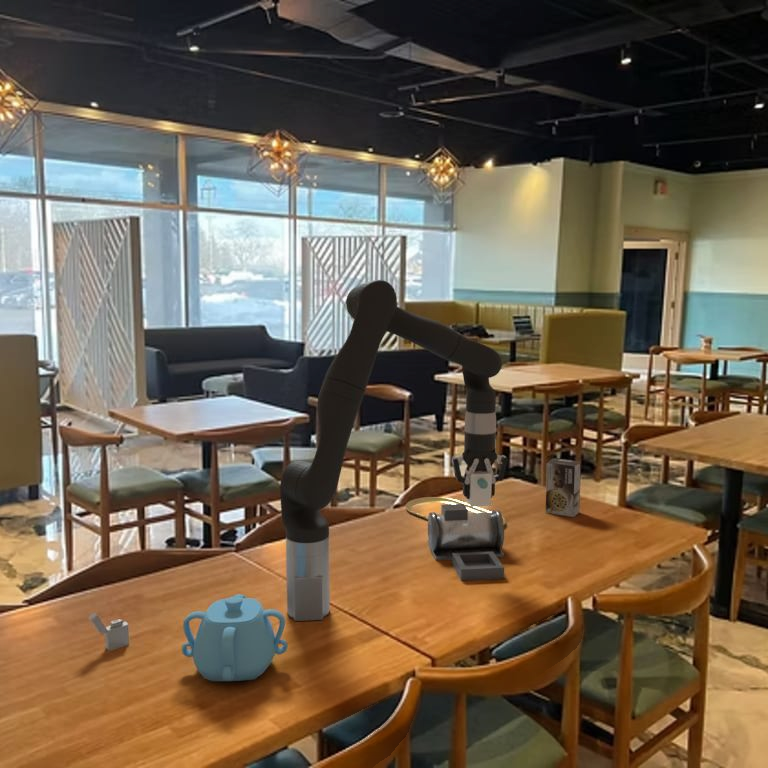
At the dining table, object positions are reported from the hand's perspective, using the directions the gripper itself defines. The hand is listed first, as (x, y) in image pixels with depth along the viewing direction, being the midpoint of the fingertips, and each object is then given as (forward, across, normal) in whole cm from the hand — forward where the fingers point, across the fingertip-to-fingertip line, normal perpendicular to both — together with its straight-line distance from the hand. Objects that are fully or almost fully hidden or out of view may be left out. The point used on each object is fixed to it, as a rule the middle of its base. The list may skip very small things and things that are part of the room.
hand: (478, 497), depth 184 cm
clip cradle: (+19, 0, +1) cm, 19 cm away
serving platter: (+20, +3, +42) cm, 46 cm away
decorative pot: (+19, -56, -40) cm, 71 cm away
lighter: (+19, -81, -30) cm, 88 cm away
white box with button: (+1, 0, -1) cm, 2 cm away
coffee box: (+19, +37, +42) cm, 59 cm away
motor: (+19, 0, +14) cm, 23 cm away
